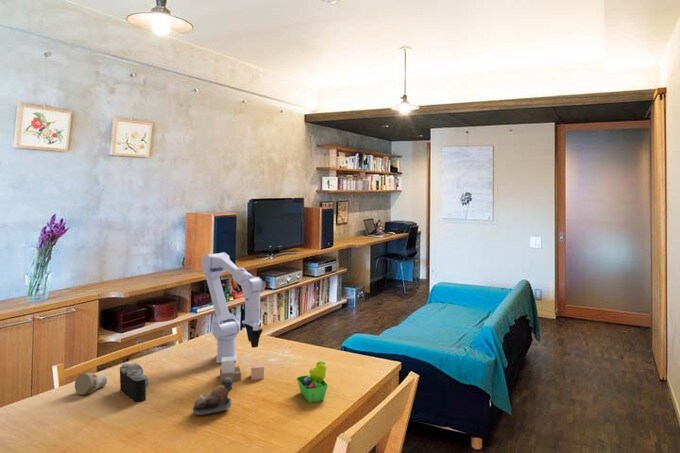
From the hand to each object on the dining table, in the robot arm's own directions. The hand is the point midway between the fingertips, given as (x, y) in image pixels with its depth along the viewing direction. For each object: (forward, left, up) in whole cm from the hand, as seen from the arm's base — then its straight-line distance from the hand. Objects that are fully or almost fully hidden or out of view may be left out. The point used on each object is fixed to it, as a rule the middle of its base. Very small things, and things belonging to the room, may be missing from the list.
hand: (253, 344), depth 170 cm
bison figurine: (+32, -14, -10) cm, 36 cm away
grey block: (+6, -9, -7) cm, 13 cm away
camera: (+13, -39, -10) cm, 42 cm away
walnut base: (+6, -9, -10) cm, 15 cm away
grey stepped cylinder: (+6, -55, -10) cm, 56 cm away
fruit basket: (+29, +18, -10) cm, 36 cm away
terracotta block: (+8, +1, -10) cm, 13 cm away
